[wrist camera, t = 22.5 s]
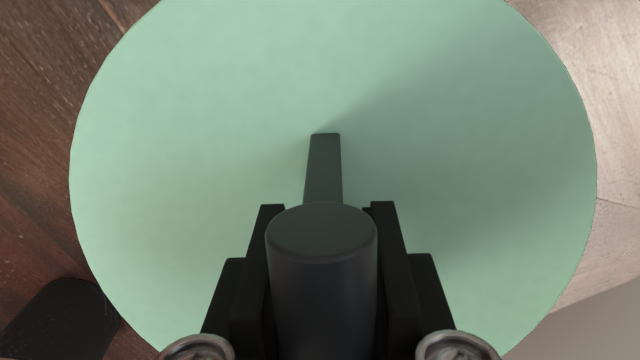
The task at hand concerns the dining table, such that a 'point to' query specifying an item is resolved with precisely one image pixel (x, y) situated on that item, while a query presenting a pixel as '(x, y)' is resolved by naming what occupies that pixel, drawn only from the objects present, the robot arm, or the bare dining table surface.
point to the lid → (333, 164)
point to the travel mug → (62, 324)
